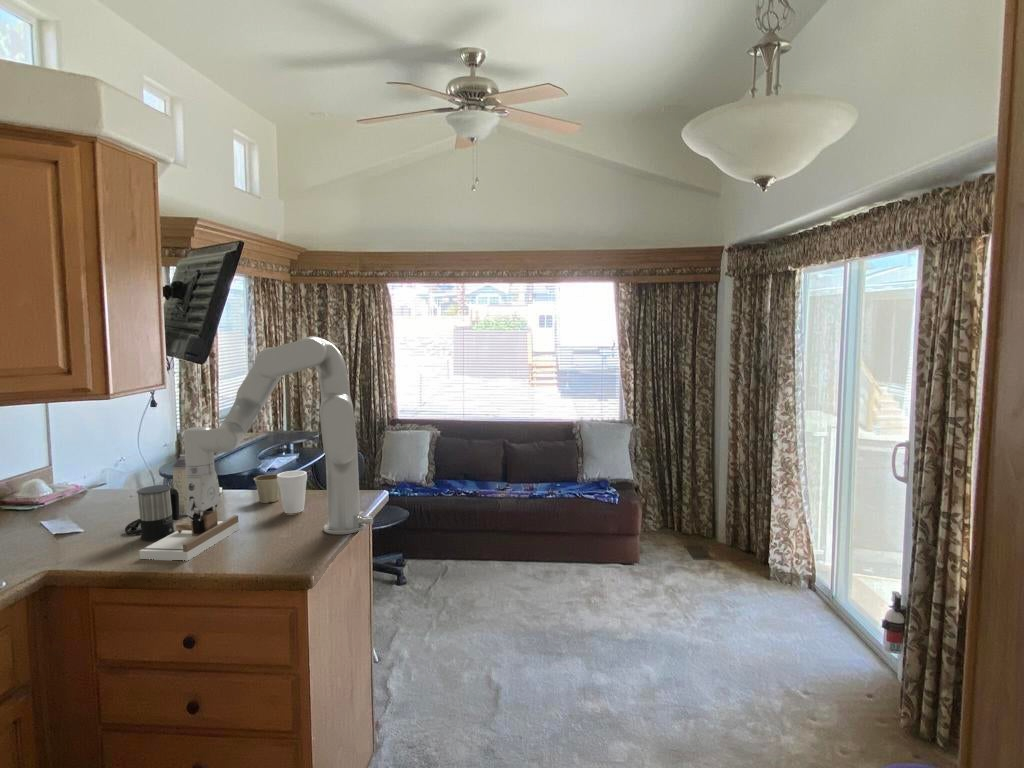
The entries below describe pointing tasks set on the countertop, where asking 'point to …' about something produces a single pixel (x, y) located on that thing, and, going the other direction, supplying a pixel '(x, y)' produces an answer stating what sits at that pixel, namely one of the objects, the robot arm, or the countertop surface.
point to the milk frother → (155, 512)
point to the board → (189, 542)
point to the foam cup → (292, 490)
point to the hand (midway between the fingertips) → (205, 529)
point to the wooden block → (208, 518)
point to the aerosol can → (180, 483)
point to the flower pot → (267, 488)
